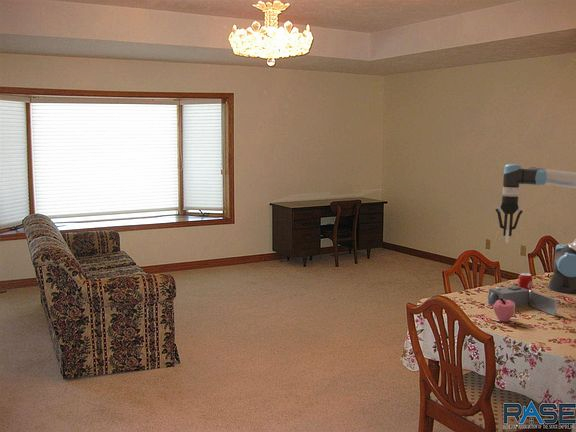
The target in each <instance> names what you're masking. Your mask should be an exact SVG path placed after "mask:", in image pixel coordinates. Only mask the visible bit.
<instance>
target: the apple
mask: <svg viewBox="0 0 576 432" xmlns="http://www.w3.org/2000/svg"><path fill="white" fill-rule="evenodd" d="M515 310H516V307H515V303H514V302H513V301H511V300H505V299H502V298H501V299H500V300H497V301H496V302H495V304H494V305H493V312H494V313H495V315H496V318H497V319H498V320H499V321H500V322H504V323H507V322H510V320H511V318H512V317H513V316H514V315H515Z"/></svg>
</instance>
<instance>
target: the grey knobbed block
mask: <svg viewBox="0 0 576 432" xmlns="http://www.w3.org/2000/svg"><path fill="white" fill-rule="evenodd" d="M488 289H489V290H488V296H487V299H488V300H487V301H488V302H487V303H488V304H489V305H492V306H494V304H495V302H496V301H497V300H500V299H501V298H502V299H505V300H511V301H513V302H514V303H515V308H518V307H519V308H520V307H525V306H529V305H528V301H529V290H527V289H524V288H521V287H518V285H508V286H501V287H500V286H496V287H490V288H488Z"/></svg>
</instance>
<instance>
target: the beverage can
mask: <svg viewBox="0 0 576 432" xmlns="http://www.w3.org/2000/svg"><path fill="white" fill-rule="evenodd" d="M517 286H518V287H521V288H524V289H527V290H533V287H532V286H533V276H532V274H531V273H527V272H520V273H519V275H518V276H517Z"/></svg>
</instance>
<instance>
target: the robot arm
mask: <svg viewBox="0 0 576 432" xmlns="http://www.w3.org/2000/svg"><path fill="white" fill-rule="evenodd" d="M520 185H530V186H531V185H532V186H536V185H537V186H545V185H549V186H557V187H564V188H565V187H566V188H573V189H576V172H574V171H564V170H559V169H558V170H557V169H547V168H540V167H539V168H538V167H537V166H536V167H534V166H532V167H531V166H530V167H528V168H522V167H521V165H520V164H519V163H518V164H516V163H507V164H505V165H504V170H503V181H502V196H501V204H500V206H499V207H497V208H495V212H496V213H497V218H498V224H499V228H501V229H503V233H502V236H504V239H505V241H504V243H505V244H509V243H510V237H512V233H513V230H516V229H517V226H518V223H519V220H520V216H521V214H522V213H523V212H524V210H523V209H521V208H519V193H520ZM501 211H502V212H503V214H504V217H503V218H504V221H503V218H502V213H501ZM516 212H517V214H516V218H515V220H514V214H515V213H516ZM508 216H509V223H508ZM514 221H515V222H514ZM513 222H514V224H513ZM508 224H509V225H508ZM508 226H509V227H508ZM554 251H555V253H554V262H553V263H554V264H553V265H554V266H553V274H552V275H551V278H550V280H549V281H548V282H549V283H548V288H549V289H550V290H552V291H556V292H559V293H565V294H576V238H575V239H574V241H572V242H571V243H570V242H569V243H567V244H561V243H560V244H556V246H555V250H554Z"/></svg>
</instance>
